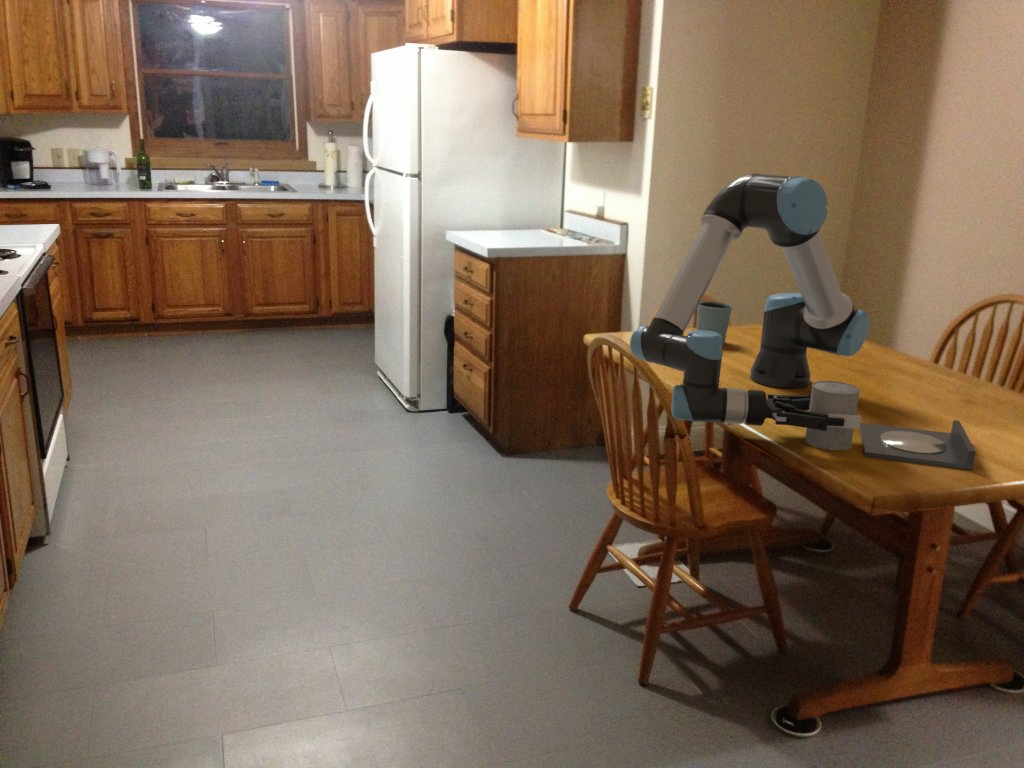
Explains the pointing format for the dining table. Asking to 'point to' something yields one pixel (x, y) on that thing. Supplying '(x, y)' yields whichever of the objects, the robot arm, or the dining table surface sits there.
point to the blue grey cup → (714, 317)
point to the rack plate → (919, 445)
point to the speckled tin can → (833, 401)
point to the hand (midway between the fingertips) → (853, 414)
